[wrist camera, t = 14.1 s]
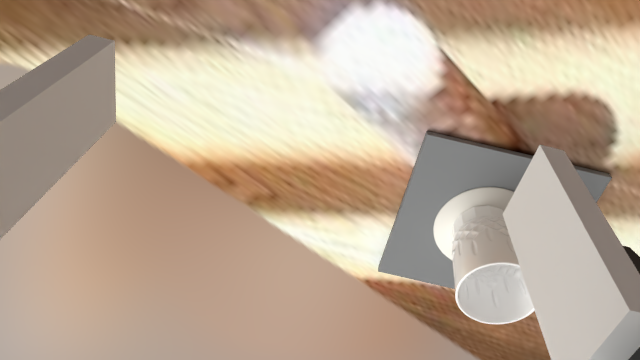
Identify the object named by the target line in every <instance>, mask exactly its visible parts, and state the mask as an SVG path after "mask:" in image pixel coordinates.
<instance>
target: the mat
mask: <svg viewBox="0 0 640 360" xmlns="http://www.w3.org/2000/svg"><path fill="white" fill-rule="evenodd" d="M532 158H533V156H531V155H527V154H523V153H519V152H514V151H510V150H506V149H502V148H497V147H493V146H489V145H485V144H480V143H476V142H472V141H468V140H463V139H459V138H455V137H450V136H446V135H442V134H438V133H433V132H429V131H427V132H426V135H425V137H424V140H423V143H422V146H421V149H420V152H419V154H418V157H417V160H416V163H415V166H414V168H413V171H412V174H411V177H410V180H409V182H408V185H407V188H406V191H405V194H404V197H403V199H402V202H401V205H400V208H399V211H398V213H397V216H396V219H395V222H394V225H393V227H392V230H391V233H390V236H389V239H388V242H387V244H386V247H385V250H384V253H383V256H382V258H381V261H380V264H379V268H378V271H380V272H384V273H388V274H392V275H397V276H401V277H405V278H410V279H414V280H418V281H422V282H427V283H431V284H435V285H440V286H444V287H448V288H452V289H455V285H454V274H453V263H452V239H451V231H452V226H453V222H454V221H455V220H456V219H457V218H458V216H459V215H460V214H461V213H462V212H464V211H466V210H468V209H470V208H472V207H476V206H486V205H490V206H493V207H497V208H501V209H503V210H504V211H505V209H506V207H507V205H508V203H509V201H510V200H511V198H512V196H513V194H514V192H515V190H516V188H517V186H518V185H519V183H520V181H521V179H522V177H523V175H524V173H525V171H526V170H527V168H528V166H529V164H530V162H531V160H532ZM573 166H574V165H573ZM574 168H575V169H576V171H577V173H578V174H579V176H580V178H581V179H582V181H583V183H584V184H585V186H586V187H587V189H588V191H589V192H590V194H591V196H592V197H593V199H594V200H595V202H597V201H598V199H599V198H600V196H601V194H602V193H603V191H604V190H605V188H606V186H607V185H608V183H609V182H610V180H611V178H612V177H611V176H610V175H609V174H608V173H604V172H600V171H595V170H591V169H587V168H583V167H578V166H574Z"/></svg>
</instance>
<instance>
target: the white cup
mask: <svg viewBox="0 0 640 360" xmlns="http://www.w3.org/2000/svg"><path fill="white" fill-rule="evenodd" d="M503 213H504V210H503V209H501V208H497V207H493V206H490V205H486V206H476V207H472V208H470V209H468V210H466V211H464V212H462V213H461V214H460V215H459V216H458V218H457V219H456V220H455V221H454V222H453V226H452V231H451V239H452V263H453V274H454V285H455V297H456V302H457V304H458V306H459V308H460V309H461V311H462V312H463V313H464V314H466V315H467V316H468V317H470V318H472V319H474V320H476V321H479V322H483V323H487V324H506V323H511V322H515V321H518V320H521V319H523V318H525V317H527V316H528V315H530V314H531V313H532V312H534V311H535V310H534V307H533V304H532V301H531V298H530V295H529V292H528V289H527V286H526V283H525V280H524V277H523V274H522V271H521V268H520V265H519V262H518V259H517V256H516V253H515V250H514V247H513V244H512V241H511V238H510V235H509V232H508V229H507V226H506V223H505V220H504V217H503Z"/></svg>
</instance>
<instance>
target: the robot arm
mask: <svg viewBox="0 0 640 360" xmlns="http://www.w3.org/2000/svg"><path fill="white" fill-rule="evenodd" d="M115 122H116V99H115V41H113V40H109V39H105V38H101V37H97V36H93V35H88V36H86V37H84V38H83V39H81V40H80V41H78V42H76V43H75V44H73V45H72V46H70V47H68V48H67V49H65V50H64V51H62V52H60V53H59V54H57V55H55V56H54V57H52V58H51V59H49V60H47V61H46V62H44V63H43V64H41V65H39V66H38V67H36V68H35V69H33V70H31V71H30V72H28V73H27V74H25V75H24V76H22V77H20V78H19V79H17V80H16V81H14V82H12V83H11V84H9V85H8V86H6V87H4V88H3V89H1V90H0V239H1V238H2V237H3V236H4V235H5V234H6V233H7V232H8V231H9V230H10V229H11V228H12V227H13V226H14V225H15V224H16V223H17V222H18V221H19V220H20V219H21V218H22V217H23V216H24V215H25V214H26V213H27V212H28V210H30V209H31V208H32V207H33V206H34V205H35V203H37V202H38V201H39V199H41V198H42V197H43V195H44V194H45V193H46V192H47V191H48V190H49V189H50V188H51V187H52V186H53V185H54V184H55V183H56V182H57V181H58V180H59V179H60V178H61V177H62V176H63V175H64V174H65V173H66V172H67V171H68V170H69V169H70V168H71V167H72V166H73V165H74V164H75V163H76V162H77V161H78V160H79V159H80V158H81V157H82V156H83V155H84V154H85V153H86V152H87V151H88V150H89V149H90V148H91V147H92V146H93V145H94V144H95V143H96V142H97V141H98V140H99V139H100V138H101V136H102V135H104V134H105V132H106V131H107V130H108V129H109V128H110V127H111V126H112V125H113V124H114V123H115ZM503 217H504V220H505V223H506V226H507V229H508V232H509V235H510V238H511V241H512V244H513V247H514V250H515V253H516V256H517V259H518V262H519V265H520V268H521V271H522V274H523V277H524V280H525V283H526V286H527V289H528V292H529V295H530V298H531V301H532V304H533V307H534V310H535V313H536V316H537V319H538V322H539V324H540V327H541V330H542V333H543V336H544V339H545V342H546V345H547V348H548V351H549V354H550V357H551V360H640V257H639V256H638V255H637V254H636V253H635V252H634V251H633V250H632V249H631V248H629V247H626V246H622V245H621V243H620V241H619V240H618V238H617V236H616V235H615V233H614V231H613V230H612V228H611V227H610V225H609V223H608V222H607V220H606V218H605V217H604V215H603V214H602V212H601V210H600V209H599V207H598V205H597V204H596V202H595V200H594V199H593V197H592V196H591V194H590V192H589V191H588V189H587V187H586V186H585V184H584V183H583V181H582V179H581V178H580V176H579V174H578V173H577V171H576V169H575V168H574V166H573V165H572V163H571V161H570V160H569V158H568V156H567V155H566V153H565V152H564V150H560V149H555V148H551V147H547V146H543V145H539V147H538V149H537V151H536V153H535V155H534V156H533V158H532V160H531V162H530V164H529V166H528V168H527V170H526V171H525V173H524V175H523V177H522V179H521V181H520V183H519V185H518V186H517V188H516V190H515V192H514V194H513V196H512V198H511V200H510V201H509V203H508V205H507V207H506V209H505V211H504V213H503Z"/></svg>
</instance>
